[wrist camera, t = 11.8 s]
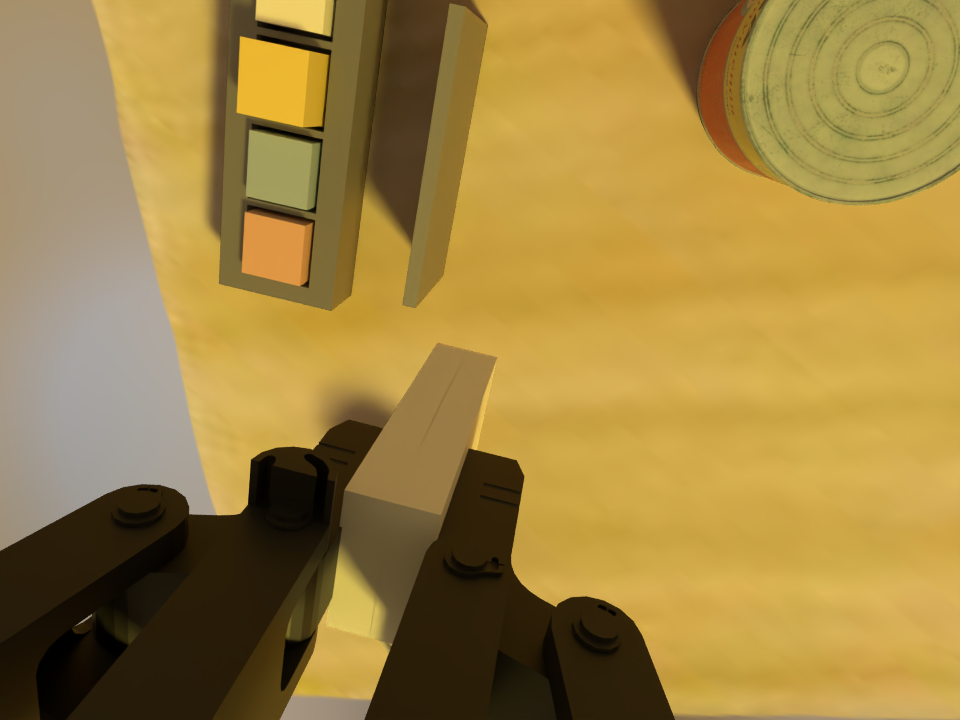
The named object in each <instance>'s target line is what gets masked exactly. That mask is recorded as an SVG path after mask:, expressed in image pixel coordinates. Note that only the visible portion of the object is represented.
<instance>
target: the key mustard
mask: <svg viewBox="0 0 960 720" xmlns="http://www.w3.org/2000/svg"><path fill="white" fill-rule="evenodd" d="M330 63H331V55H326V54H322V53H317V52H312V51H308V50H303V49H298V48H294V47H289V46H284V45H280V44H275V43H270V42H265V41H260V40H256V39H251V38H246V37H241V36H240V51H239V72H238V94H237V113H240V114H245V115H249V116H254V117H258V118H263V119H267V120H272V121H276V122H281V123H285V124H290V125H294V126H299V127H316V126H324V125H325V115H326V104H327V94H328V84H329V73H330Z"/></svg>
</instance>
